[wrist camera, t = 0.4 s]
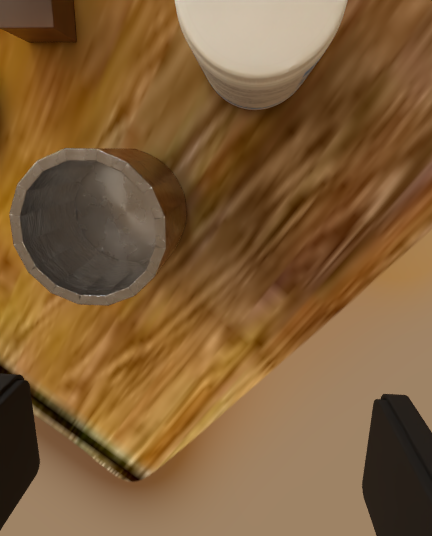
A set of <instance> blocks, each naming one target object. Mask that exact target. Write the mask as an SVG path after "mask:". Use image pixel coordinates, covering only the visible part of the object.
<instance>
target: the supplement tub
mask: <svg viewBox="0 0 432 536" xmlns="http://www.w3.org/2000/svg"><path fill="white" fill-rule="evenodd" d="M347 2H348V0H175V5H176V10H177V15H178V20H179V23H180V26H181V29H182V32H183V34H184V36H185V39H186V41H187V43H188V45H189V46H190V48H191V50H192V52H193V54H194V56H195V57H196V59H197V61H198V63H199V65H200V66H201V68H202V70H203V72H204V74H205V76H206V77H207V79H208V81H209V83H210V84H211V86H212V87H213V89H214V90H215V91H216V92H217V93H218V94H219V95H220V96H221V97H222V98H223V99H224V100H226V101H227V102H229V103H231V104H232V105H235V106H237V107H240V108H243V109H248V110H260V109H267V108H270V107H273V106H276V105H278V104H280V103H282V102H283V101H285V100H286V99H288V98H289V97H290V96H292V95H293V94H294V93H295V92H296V91H297V89H298V88H299V87H300V86H301V85H302V83H303V82H304V80H305V79H306V78H307V76H308V75H309V74H310V72H311V71H312V69H313V68H314V67H315V65H316V64H317V62H318V61H319V60H320V58H321V57H322V55H323V54H324V53H325V51H326V50H327V48H328V46H329V45H330V43H331V42H332V40H333V38H334V36H335V34H336V32H337V30H338V28H339V26H340V24H341V21H342V18H343V15H344V12H345V8H346V5H347Z"/></svg>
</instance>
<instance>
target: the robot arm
mask: <svg viewBox="0 0 432 536" xmlns="http://www.w3.org/2000/svg"><path fill="white" fill-rule="evenodd" d="M39 464H40V459H39V451H38V444H37V437H36V430H35V422H34V415H33V407H32V400H31V393H30V386H29V383H28V381H25V380H24V378H23V377H22V376H21V375H14V374H0V530H1V528H2V527H3V525H4V524H5V522H6V521H7V519H8V517H9V516H10V514H11V513H12V511H13V510H14V508H15V507H16V505H17V504H18V502H19V500H20V499H21V498H22V496H23V494H24V493H25V491H26V490H27V488H28V487H29V485H30V484H31V482H32V481H33V479H34V477H35V476H36V474H37V472H38V469H39ZM362 488H363V495H364V500H365V503H366V505H367V508H368V511H369V514H370V517H371V520H372V523H373V526H374V529H375V532H376V535H377V536H432V432H431V431H430V429H429V428H428V426H427V425H426V423H425V422H424V420H423V419H422V417H421V416H420V414H419V412H418V411H417V409H416V408H415V406H414V405H413V403H412V402H411V400H410V399H409V397H408V396H406V395H393V394H383V395H382V397H381V400H380V399H376V400H375V401H374V404H373V411H372V418H371V425H370V432H369V440H368V447H367V454H366V460H365V468H364V475H363V482H362Z"/></svg>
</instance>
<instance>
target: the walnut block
mask: <svg viewBox="0 0 432 536" xmlns="http://www.w3.org/2000/svg"><path fill="white" fill-rule="evenodd" d="M0 28H1V29H3V30H5V31H7V32H9V33H11V34H13V35H15V36H17V37H19V38H21V39H23V40H25V41H27V42H77V40H76V28H75V15H74V3H73V0H0Z"/></svg>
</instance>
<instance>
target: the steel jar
mask: <svg viewBox="0 0 432 536" xmlns="http://www.w3.org/2000/svg"><path fill="white" fill-rule="evenodd" d="M186 213H187V211H186V201H185V197H184V194H183V191H182V188H181V186H180V184H179V182H178V180H177V178H176V177H175V176H174V174H173V173H172V172H171V171H170V169H169V168H168V167H167V166H166V165H164V164H163V163H162V162H161V161H160V160H158V159H157V158H155V157H153V156H151V155H149V154H147V153H144V152H141V151H139V150H137V149H81V148H65V149H62V150H60V151H58V152H56V153H53V154H51V155H49V156H47V157H45V158H42V159H40V160H38V161H37V162H35V164H34V165H33V166H32V167H31V168H30V170H29V171H28V172H27V173H26V174H25V176H24V177H23V178H22V179H21V181H20V182H19V183H18V185H17V187H16V191H15V195H14V199H13V202H12V206H11V210H10V222H11V230H12V237H13V244H14V247H15V248H16V250H17V252H18V254H19V256H20V258H21V260H22V261H23V263H24V265H25V267H26V269H27V271H28V272H29V273H30V274H31V275H32V276H33V277H34V278H35V279H37V280H38V281H39V282H40V283H41V284H42V285H43V286H44V287H45V288H46V289H48V290H49V291H50V292H51V293H53V294H55V295H58V296H60V297H63V298H65V299H67V300H70V301H72V302H74V303H77V304H84V305H111V304H114V303H116V302H119V301H122V300H125V299H127V298H130V297H133V296H135V295H136V294H137V293H138V292H139V291H140V290H141V289H142V288H143V287H144V286H145V285H146V284H147V283H148V282H150V281H151V280H152V279H153V278H154V277H155V275H156V274H157V273H158V271H159V270H160V269H161V267H162V266H163V264H164V263H165V262H166V260H167V259H168V258H169V256H170V255H171V253H172V252H173V251H174V249H175V248H176V247H177V245H178V243H179V240H180V238H181V236H182V234H183V231H184V228H185V225H186Z"/></svg>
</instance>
